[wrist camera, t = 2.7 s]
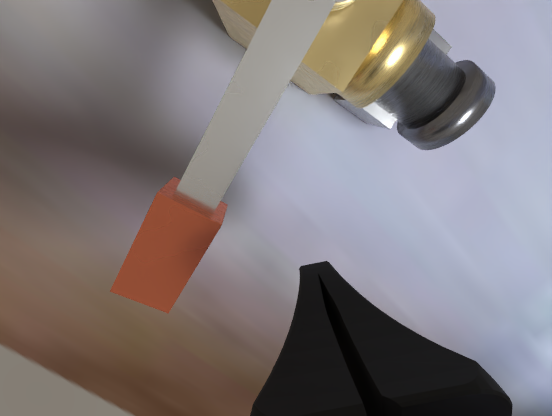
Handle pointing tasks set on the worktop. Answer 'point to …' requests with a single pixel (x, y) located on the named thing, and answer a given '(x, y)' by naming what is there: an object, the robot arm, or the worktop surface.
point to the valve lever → (218, 157)
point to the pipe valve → (383, 67)
